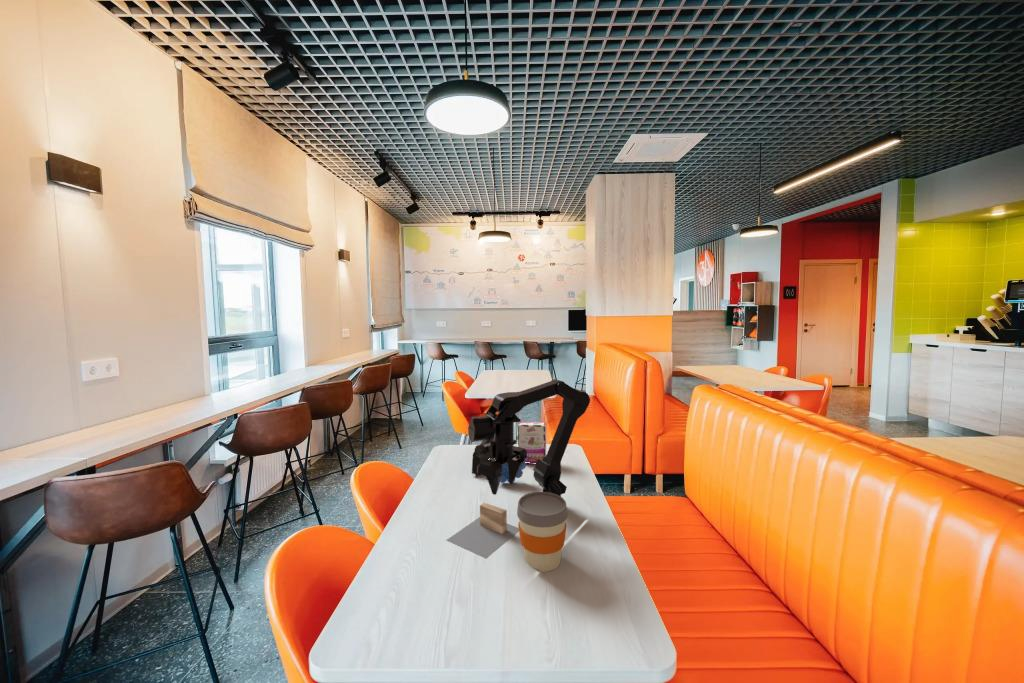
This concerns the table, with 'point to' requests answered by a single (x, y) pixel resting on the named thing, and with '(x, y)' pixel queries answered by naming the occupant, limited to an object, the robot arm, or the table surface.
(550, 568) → the reusable coffee cup
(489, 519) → the maple tile
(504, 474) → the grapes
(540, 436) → the candy bar box
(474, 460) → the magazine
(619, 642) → the table surface
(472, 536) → the slate mat
